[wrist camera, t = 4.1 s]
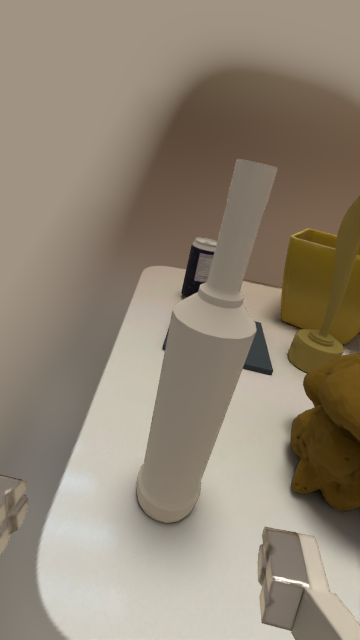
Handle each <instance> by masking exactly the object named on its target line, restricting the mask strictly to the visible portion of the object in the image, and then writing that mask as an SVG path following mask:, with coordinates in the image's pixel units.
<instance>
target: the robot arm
mask: <svg viewBox="0 0 360 640" xmlns="http://www.w3.org/2000/svg"><path fill="white" fill-rule="evenodd" d="M26 490H27V483H26V481H24V480H21V479H16V478H11V477H7V476H3V475H0V555H1V554H2V552H3V551H4V549H5V548H6V546H7V545H8V543H9V535H10V534H11V533H13V532H14V531H16V530H18V528H19V527H20V526H21V524H22V522H23V521H24V518H25V516H26V513H27V510H28V498H27V497H26V495H25V494H24V492H25V491H26ZM262 538H263V544H262V545H260V548H259V553H258V581H259V583H260V584H261V586H262V589H261V593H260V609H261V620H262V623H263V624H267V625H271V626H275V627H279V628H283V629H286V630H290V631H292V632H291V633H292V635H293V636H294V638H295V640H360V624H359V623H358V621H357V620H356V619H355V618H354V616H353V615H352V614H351V613H350V611H349V610H348V609H347V607H346V606H345V605H344V604H343V602H342V601H341V600H340V599H339V597H338V596H337V595H336V594H334V593H330V589H329V585H328V582H327V578H326V574H325V571H324V567H323V563H322V560H321V556H320V552H319V549H318V545H317V541H316V539H315V537H314V536H310V535H305V534H300V533H296V532H290V531H285V530H279V529H274V528H268V527H265V528H264V530H263V534H262Z"/></svg>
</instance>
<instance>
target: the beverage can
mask: <svg viewBox="0 0 360 640" xmlns="http://www.w3.org/2000/svg"><path fill="white" fill-rule="evenodd" d="M216 244H217V241H214V240H211V239H206V238H196V239H195V241H194V242H193V244H192V247H191V251H190V255H189V260H188V265H187V269H186V274H185V278H184V283H183V288H182V295H183V296H184V298H187V297H189V296H191V295H193V294H195V293H197V292H198V291H199V287H200V285H201V284H203V283H206V281H207V280H208V276H209V272H210V268H211V264H212V260H213V256H214V252H215V248H216Z"/></svg>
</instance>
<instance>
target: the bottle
mask: <svg viewBox="0 0 360 640" xmlns="http://www.w3.org/2000/svg"><path fill="white" fill-rule="evenodd" d="M276 171H277V167H274V166H270V165H266V164H261V163H257V162H252V161H247V160H242V159H237V161H236V165H235V169H234V173H233V177H232V181H231V185H230V189H229V193H228V197H227V199H228V201H227V205H226V209H225V213H224V217H223V221H222V225H221V229H220V233H219V237H218V240H217V244H216V248H215V252H214V256H213V260H212V264H211V268H210V272H209V276H208V280H207V281H206V283H203V284H201V285H200V287H199V291H198V292H197V293H195V294H193V295H191V296H189V297H187V298H185V299H183V300H182V301H180V302H178V303H176V304H175V305H174V308H173V311H172V316H171V322H170V327H169V332H168V338H167V343H166V348H165V354H164V359H163V364H162V370H161V375H160V380H159V385H158V391H157V396H156V401H155V407H154V412H153V417H152V423H151V428H150V433H149V439H148V444H147V449H146V455H145V460H144V463H143V465H142V466H141V467H140V470H139V474H138V477H137V483H136V489H137V495H138V501H139V504H140V505H141V507H142V509H143V510H144V512H145V513H146V514H148V515H149V516H150V517H152V518H153V519H154V520H157V521H161V522H165V523H170V522H176V521H179V520H181V519H182V518H184V517H185V516H187V515H188V514H189V513H190V512H191V510H192V509H193V507H194V505H195V504H196V502H197V500H198V498H199V495H200V489H201V479H202V476H203V474H204V471H205V468H206V465H207V463H208V460H209V457H210V455H211V452H212V449H213V447H214V444H215V441H216V438H217V436H218V433H219V430H220V428H221V425H222V422H223V420H224V417H225V414H226V412H227V409H228V406H229V403H230V401H231V398H232V395H233V393H234V390H235V387H236V385H237V382H238V379H239V377H240V374H241V371H242V368H243V366H244V363H245V360H246V358H247V355H248V352H249V350H250V347H251V344H252V341H253V339H254V336H255V333H256V331H257V329H256V324H255V322H254V320H253V319H252V317H251V316H250V314H249V313H248V311H247V310H246V308H245V307H244V305H243V300H244V295H243V294H242V293H241V292H240V288H241V285H242V282H243V278H244V275H245V271H246V268H247V265H248V261H249V258H250V255H251V251H252V248H253V245H254V241H255V238H256V235H257V231H258V228H259V224H260V221H261V218H262V214H263V211H264V208H265V207H266V205H267V201H268V198H269V195H270V192H271V188H272V185H273V182H274V178H275V175H276Z"/></svg>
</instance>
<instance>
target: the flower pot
mask: <svg viewBox="0 0 360 640" xmlns="http://www.w3.org/2000/svg"><path fill="white" fill-rule="evenodd" d="M336 242H337V236H335V235H332V234H328V233H324V232H321V231H317V230H313V229H306V230H304V231H301V232H299V233H296V234H294V235H292V236H291V238H290V242H289V247H288V251H287V257H286V263H285V269H284V276H283V285H282V299H281V319H282V320H283V321H284V322H287V323H289V324H292V325H294V326H297V327H299V328H302V329H311V330H313V329H317V330H321V327H322V324H323V321H324V318H325V314H326V311H327V307H328V304H329V299H330V295H331V290H332V284H333V277H334V266H335V253H336ZM359 332H360V244H359V248H358V251H357V254H356V258H355V262H354V265H353V269H352V272H351V276H350V279H349V282H348V285H347V288H346V291H345V294H344V296H343V299H342V302H341V304H340V307H339V309H338V312H337V314H336V316H335V319H334V321H333V323H332V325H331V328H330V330H329V332H328V333H329V334H330V335H332V336H333V337H334V338H335V339H336V340H337V341H339V342H340V343H341V344H347V343H348V342H349V341H351V340H352V339H353V338H354V337H355V336H356V335H357V334H358V333H359Z"/></svg>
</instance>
